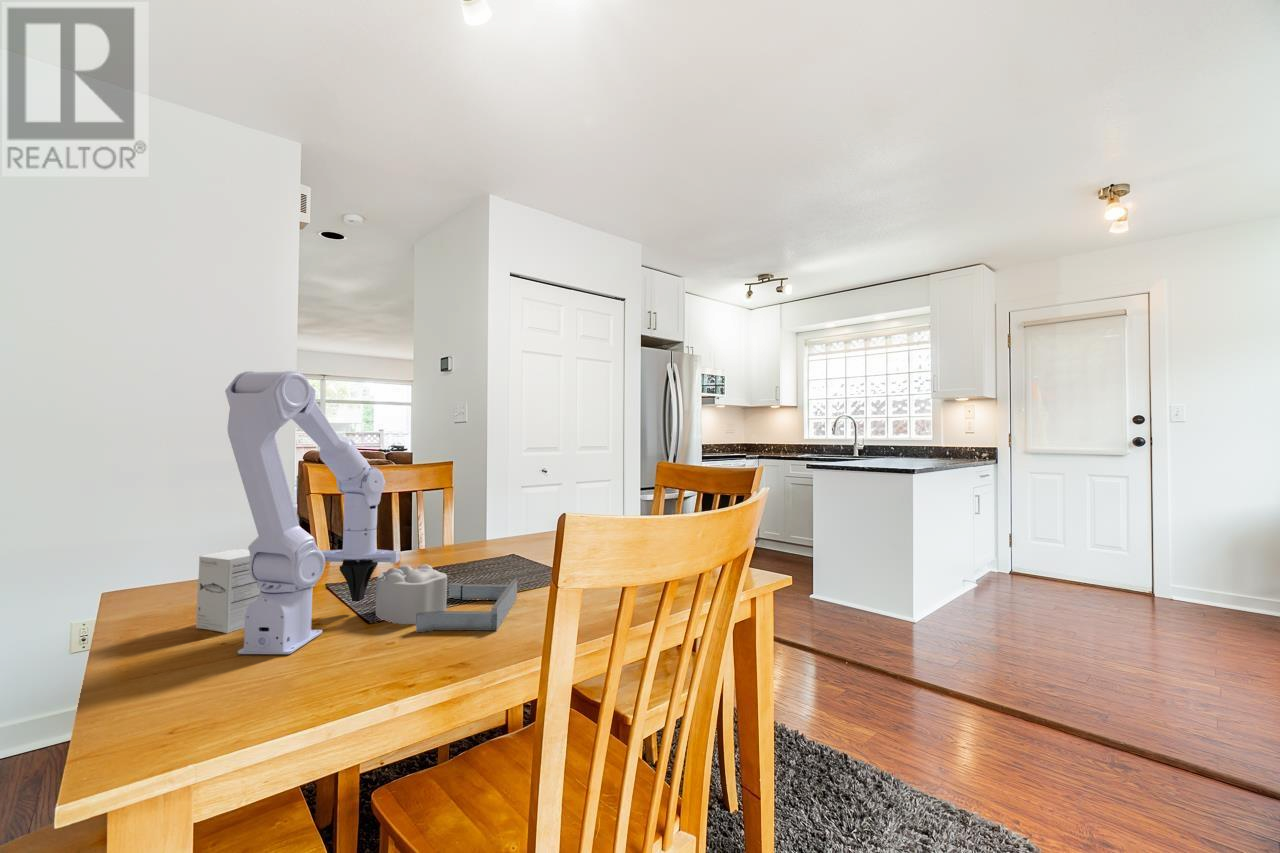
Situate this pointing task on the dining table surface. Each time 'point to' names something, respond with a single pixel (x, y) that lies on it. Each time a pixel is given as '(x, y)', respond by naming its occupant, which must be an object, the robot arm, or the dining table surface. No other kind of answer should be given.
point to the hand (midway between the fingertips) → (358, 599)
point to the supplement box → (224, 590)
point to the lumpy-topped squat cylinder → (410, 593)
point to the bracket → (471, 618)
